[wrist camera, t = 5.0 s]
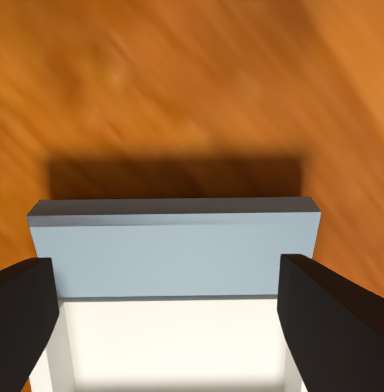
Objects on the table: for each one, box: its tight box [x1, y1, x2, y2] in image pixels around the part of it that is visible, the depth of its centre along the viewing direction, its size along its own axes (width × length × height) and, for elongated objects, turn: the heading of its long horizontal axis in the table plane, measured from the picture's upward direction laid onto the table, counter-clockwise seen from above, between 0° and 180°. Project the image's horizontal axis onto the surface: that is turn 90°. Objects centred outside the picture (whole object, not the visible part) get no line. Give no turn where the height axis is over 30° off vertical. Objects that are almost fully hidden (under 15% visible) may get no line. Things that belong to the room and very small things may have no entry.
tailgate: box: [26, 197, 321, 298], centre depth 17 cm, size 2×13×5 cm
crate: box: [29, 294, 308, 392], centre depth 18 cm, size 14×9×4 cm, turn 91°
